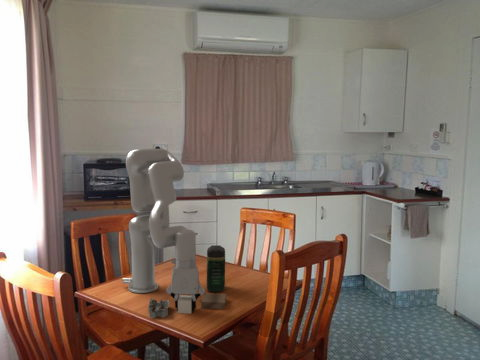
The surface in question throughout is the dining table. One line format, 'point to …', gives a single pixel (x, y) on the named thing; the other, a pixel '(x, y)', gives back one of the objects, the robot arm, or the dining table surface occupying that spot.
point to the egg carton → (158, 308)
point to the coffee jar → (215, 268)
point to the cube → (185, 304)
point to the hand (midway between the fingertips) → (185, 309)
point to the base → (213, 301)
